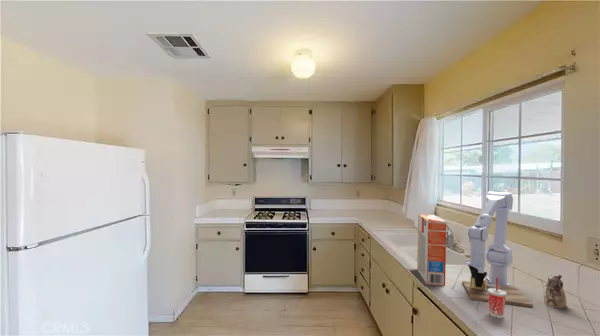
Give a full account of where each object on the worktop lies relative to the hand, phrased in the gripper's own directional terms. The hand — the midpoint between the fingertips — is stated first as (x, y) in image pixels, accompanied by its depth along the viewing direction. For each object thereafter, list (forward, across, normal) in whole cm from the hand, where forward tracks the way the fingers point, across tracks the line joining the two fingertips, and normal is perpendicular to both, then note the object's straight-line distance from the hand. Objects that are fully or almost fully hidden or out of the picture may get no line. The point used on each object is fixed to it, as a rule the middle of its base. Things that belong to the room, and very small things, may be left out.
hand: (477, 284), depth 140 cm
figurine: (+4, +3, +28) cm, 28 cm away
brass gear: (+1, 0, 0) cm, 1 cm away
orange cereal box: (+4, -14, -18) cm, 23 cm away
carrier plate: (+3, 0, +7) cm, 8 cm away
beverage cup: (+4, +23, +2) cm, 23 cm away
